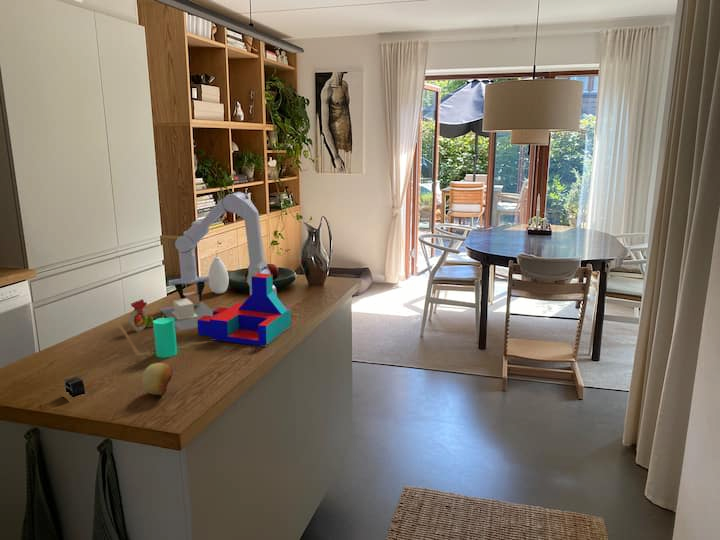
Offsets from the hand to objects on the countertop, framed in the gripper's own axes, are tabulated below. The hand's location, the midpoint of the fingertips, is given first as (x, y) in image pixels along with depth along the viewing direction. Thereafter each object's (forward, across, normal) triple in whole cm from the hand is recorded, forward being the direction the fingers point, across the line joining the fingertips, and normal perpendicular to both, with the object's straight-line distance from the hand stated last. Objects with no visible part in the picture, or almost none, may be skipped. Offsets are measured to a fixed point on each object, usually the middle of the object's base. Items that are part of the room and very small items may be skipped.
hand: (191, 302), depth 210 cm
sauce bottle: (+2, +13, +15) cm, 20 cm away
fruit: (+2, -16, -73) cm, 75 cm away
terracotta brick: (+1, 0, 0) cm, 1 cm away
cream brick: (+1, -4, -10) cm, 10 cm away
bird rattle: (+2, -18, -20) cm, 27 cm away
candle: (+2, -12, -45) cm, 47 cm away
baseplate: (+2, -1, -12) cm, 12 cm away
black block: (+3, -35, -65) cm, 74 cm away
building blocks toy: (+2, +12, -37) cm, 39 cm away
